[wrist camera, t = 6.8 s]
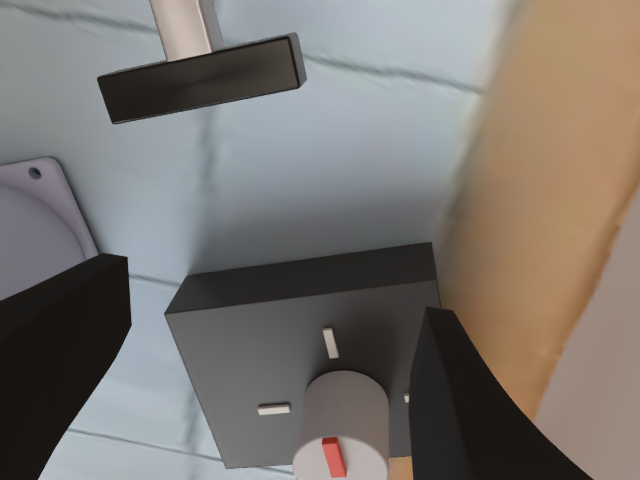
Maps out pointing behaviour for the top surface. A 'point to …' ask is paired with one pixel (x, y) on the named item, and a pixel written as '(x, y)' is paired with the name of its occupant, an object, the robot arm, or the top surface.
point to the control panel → (300, 342)
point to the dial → (343, 429)
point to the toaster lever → (200, 66)
